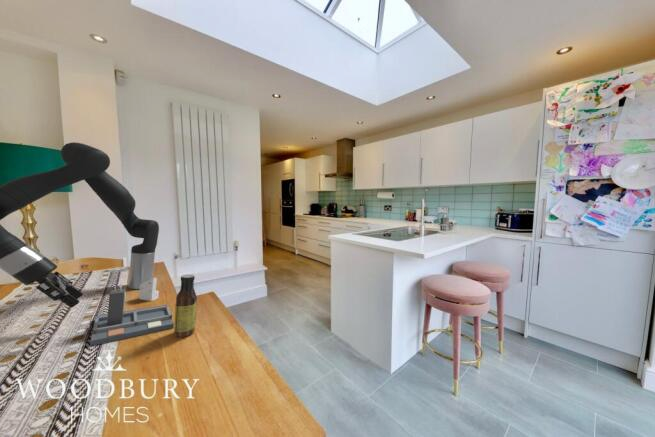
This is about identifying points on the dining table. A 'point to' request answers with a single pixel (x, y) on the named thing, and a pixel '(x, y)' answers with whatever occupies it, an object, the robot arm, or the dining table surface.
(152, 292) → the white wedge bracket
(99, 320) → the grey tray
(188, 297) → the sauce bottle
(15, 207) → the robot arm
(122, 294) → the plug
